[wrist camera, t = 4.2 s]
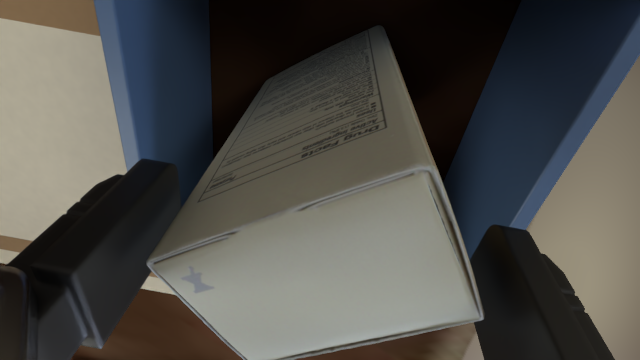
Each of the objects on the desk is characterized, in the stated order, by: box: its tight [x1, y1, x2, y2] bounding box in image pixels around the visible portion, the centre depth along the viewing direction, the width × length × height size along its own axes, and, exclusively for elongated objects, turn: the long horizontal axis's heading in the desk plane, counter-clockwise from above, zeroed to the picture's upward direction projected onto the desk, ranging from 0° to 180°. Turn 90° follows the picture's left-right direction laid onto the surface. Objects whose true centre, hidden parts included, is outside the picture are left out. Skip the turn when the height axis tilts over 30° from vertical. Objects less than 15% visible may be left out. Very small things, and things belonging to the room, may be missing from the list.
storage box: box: [93, 0, 640, 261], centre depth 14 cm, size 14×13×7 cm
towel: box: [0, 0, 176, 295], centre depth 21 cm, size 15×22×1 cm
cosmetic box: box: [146, 25, 485, 360], centre depth 12 cm, size 6×4×12 cm
